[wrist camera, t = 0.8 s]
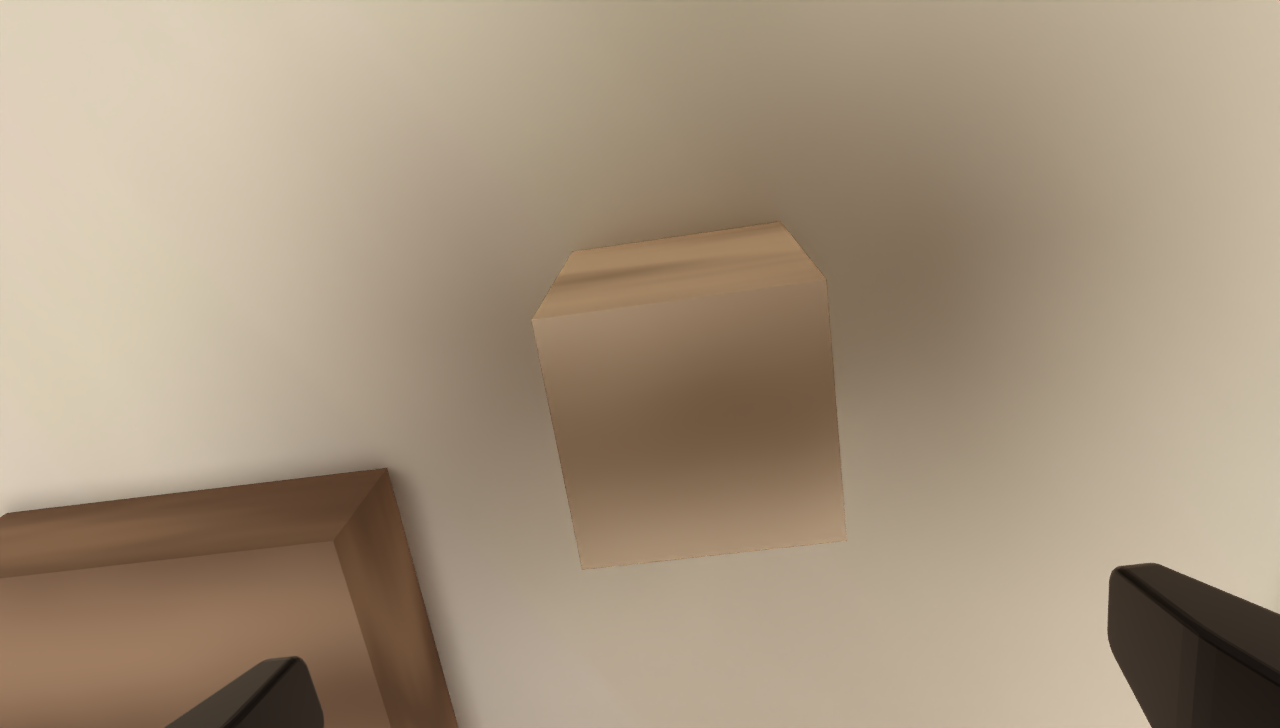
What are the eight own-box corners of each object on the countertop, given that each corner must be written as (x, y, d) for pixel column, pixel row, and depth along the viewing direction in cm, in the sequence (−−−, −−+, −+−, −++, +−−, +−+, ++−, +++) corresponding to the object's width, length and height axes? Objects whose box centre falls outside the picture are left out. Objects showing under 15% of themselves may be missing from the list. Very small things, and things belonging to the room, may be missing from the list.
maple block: (798, 414, 20) (847, 540, 15) (606, 438, 21) (582, 569, 15) (779, 221, 19) (826, 279, 13) (572, 251, 19) (531, 320, 14)
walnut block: (476, 773, 25) (442, 894, 21) (149, 802, 26) (61, 923, 22) (391, 461, 22) (333, 540, 18) (16, 506, 23) (-114, 591, 19)
